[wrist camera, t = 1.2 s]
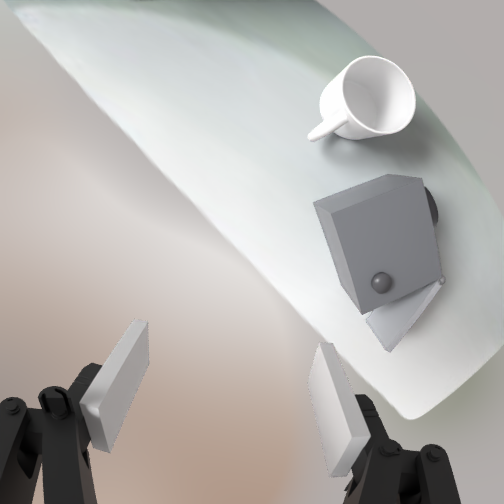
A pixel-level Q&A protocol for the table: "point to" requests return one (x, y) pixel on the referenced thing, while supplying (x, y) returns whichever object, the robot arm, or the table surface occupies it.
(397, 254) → the camera body
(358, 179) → the table surface
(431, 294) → the side door
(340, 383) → the robot arm
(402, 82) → the cup
